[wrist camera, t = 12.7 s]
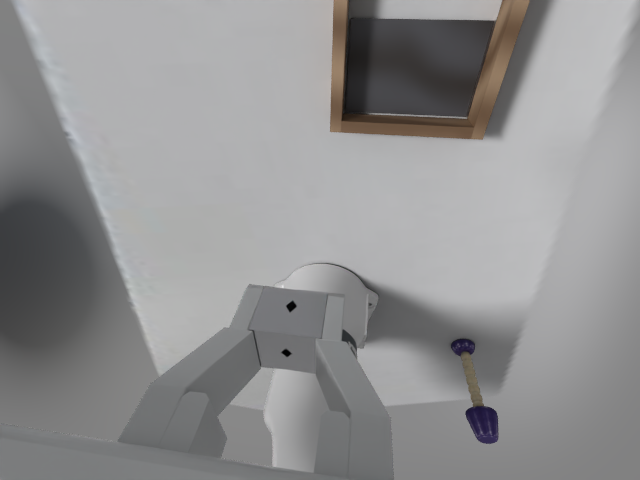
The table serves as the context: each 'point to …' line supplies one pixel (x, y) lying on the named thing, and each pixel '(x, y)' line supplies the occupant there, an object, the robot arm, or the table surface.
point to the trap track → (420, 72)
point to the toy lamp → (476, 397)
